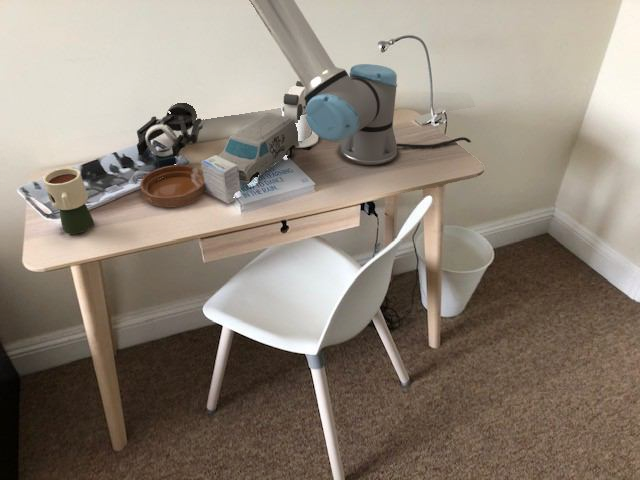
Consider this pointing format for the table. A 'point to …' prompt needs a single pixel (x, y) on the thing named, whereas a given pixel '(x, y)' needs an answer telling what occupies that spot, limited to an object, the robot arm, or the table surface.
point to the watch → (162, 156)
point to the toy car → (261, 145)
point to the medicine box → (221, 178)
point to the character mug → (69, 199)
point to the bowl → (173, 186)
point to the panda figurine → (298, 110)
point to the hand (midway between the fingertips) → (156, 150)
